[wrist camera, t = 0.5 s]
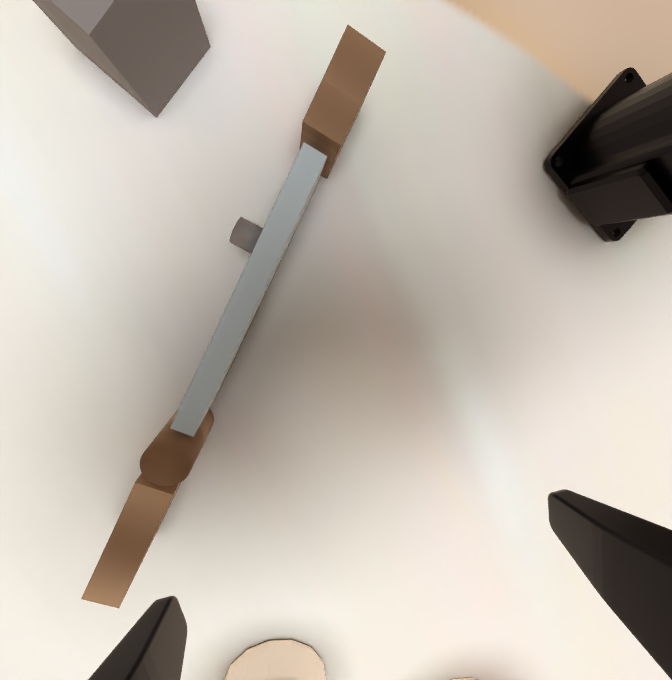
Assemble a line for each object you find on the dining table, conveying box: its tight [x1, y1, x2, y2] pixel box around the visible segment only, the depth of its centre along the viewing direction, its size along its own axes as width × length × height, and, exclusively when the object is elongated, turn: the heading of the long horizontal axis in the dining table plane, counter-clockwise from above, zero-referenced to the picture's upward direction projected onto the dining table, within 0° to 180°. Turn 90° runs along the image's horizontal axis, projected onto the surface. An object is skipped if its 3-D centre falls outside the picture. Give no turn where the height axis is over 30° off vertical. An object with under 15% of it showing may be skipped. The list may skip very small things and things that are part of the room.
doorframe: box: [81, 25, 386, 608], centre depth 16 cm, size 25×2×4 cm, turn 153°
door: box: [170, 142, 327, 437], centre depth 15 cm, size 13×2×4 cm, turn 153°
